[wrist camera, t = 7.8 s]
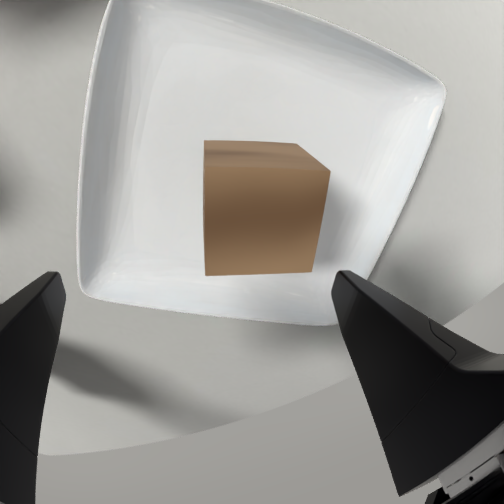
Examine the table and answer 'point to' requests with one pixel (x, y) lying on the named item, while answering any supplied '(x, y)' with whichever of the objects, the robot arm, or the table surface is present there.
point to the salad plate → (239, 129)
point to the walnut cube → (261, 207)
